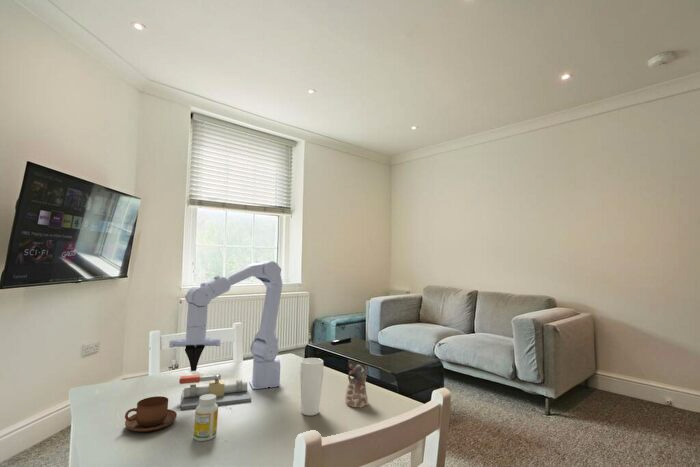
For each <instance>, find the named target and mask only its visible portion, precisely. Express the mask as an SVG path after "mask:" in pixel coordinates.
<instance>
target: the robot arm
mask: <svg viewBox="0 0 700 467" xmlns="http://www.w3.org/2000/svg"><path fill="white" fill-rule="evenodd" d="M281 272H282V268H281V267H280V266H279V264H278V263H277V261H276V262H275V261H267V260H265V261H262V260H257V261H255V262H251V263H250V264H248V265H246V266H244V267H242V268H240V269H238V270H237V271H235V272H233V273H232V274H230V275H227V276H224V275H215V276H213V279H211V280H209V281H207V282H201V283H200V286H194V287H191V288H189V289H188V290H187V293H186V295H184V299H185V301H186V302H187V314H186V315H187V317H186V330H185V338H180V339H179V338H177V339H170V340H169V342H168V343H169V345H168V346H169V348H181V347H182V348H184V347H185V348H184V351H185V352H184V353H185V354H186V356H187V359H188V361H189V366H190V371H191V372H196V371H197V370H198V364H199V360H200V358H201V356H202V353H203V351H204V350H205V347H220V346H221V338H209V337H207V336H206V335H207V322H208V321H207V320H208V319H207V318H208V306H209V304H211V301H212V300H214V299H216V298H218V297H219V296H221V295H224V294H225V293H227V292H229V291H230V290H231V288H232V287H231V286H233V285H236V284H238V283H240V282H242V281H244V280H246V279H249V278H253V277H254V278H256V279H258V280H259V281H261V282H262V283H263V285H264V286H265V288H266V291H265V295H264V296H265V297H264V301H263V302H264V303H263V308H262V314H261V318H260V323H259V330H258V331H257V332H256V333H255V335H254V338H253V341H252V342H251V344H250V348H249V350H250V353H251V354H252V358H253V360H252V378H251V380H250V381H249V385H250V386H251V389H252V390H258V389H260V390H261V389H268V387H270V388H277V386H279V387H280V386H281V383H280V382H281V361H280V358H277V356H278V354H279V345H278V341H279V339H278V337H277V335H276V333H275V332H276V327H277V326H276V325H277V319H278V313H279V308H280V303H281V296H282V289H283V280H282V276H281V274H282V273H281ZM169 348H168V349H169Z"/></svg>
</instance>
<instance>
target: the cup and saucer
mask: <svg viewBox="0 0 700 467" xmlns="http://www.w3.org/2000/svg"><path fill="white" fill-rule="evenodd" d="M168 408H169V398H168V397H166V396H150V397H146V398H143V399H140V400H139V401H137V403H136V407H134V408H130V409H128V410H127V411H126V413H125V414H124V418H125V422H124V425H125V427H126V428H127V429H128V430H130V431H132V432H143V433H144V432H152V431H156V430H160V429H163V428H165V427H167V426H170V424H172V423H173V422H174V421H175V420H176V418H177V415H178V413H177V412H176V411H174V410H172V409H168ZM131 412H136V413H135V414H132V415H131V416H129V414H130V413H131Z"/></svg>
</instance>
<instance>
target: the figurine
mask: <svg viewBox="0 0 700 467" xmlns="http://www.w3.org/2000/svg"><path fill="white" fill-rule="evenodd" d="M348 367H349V369H350V371H349V372H348V376H347V379H348V384H347V387H346V392H345V404H346V405H347V406H348V405H349V406H348V407H350V406H352V407H351V408H353V407H360V408H363V407H362V406H365V405H367V406H368V404H369V403H368V401H369V400H368V394H367V386H366V382H367V378H368V375H367V374H366V371H365V369H364V367H362V366H361V364H356V365H355V367H354V365H353V364H349V366H348ZM351 375H353V377H351ZM367 403H368V404H367ZM365 407H366V406H365Z"/></svg>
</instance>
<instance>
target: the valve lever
mask: <svg viewBox="0 0 700 467" xmlns="http://www.w3.org/2000/svg"><path fill="white" fill-rule="evenodd" d="M221 378H222V374H220V373H218V374H217V373H216V374H205V375H203V374H202V375H201V374H193V375H192V374H191V375H180V377H179V381H178V382H179V385H183V384H185V385H186V384H196V383H200V382H206V381H207V382H208V381H215V380H222V379H221Z"/></svg>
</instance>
